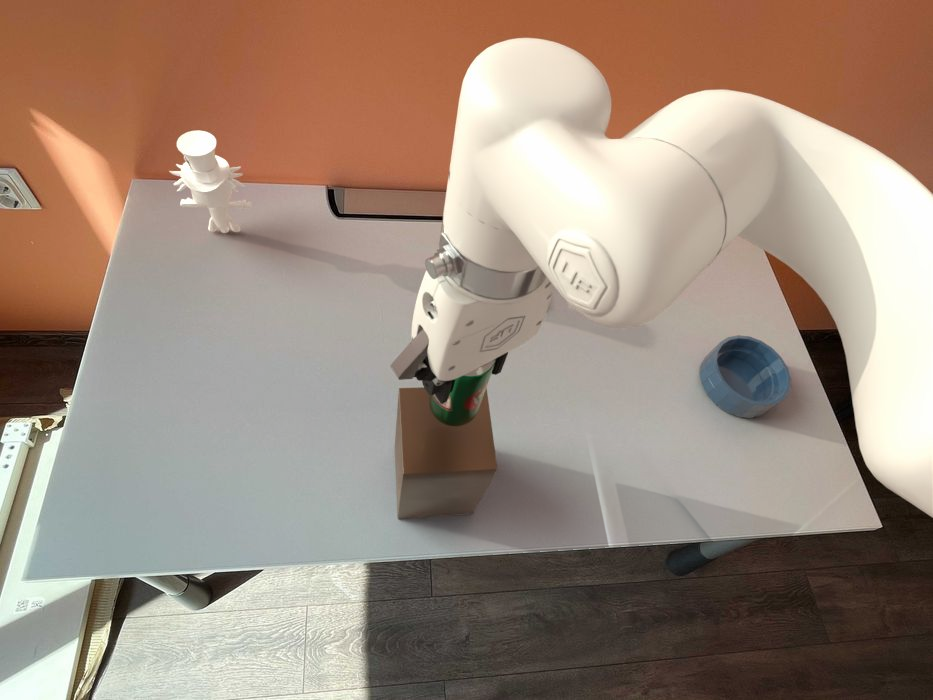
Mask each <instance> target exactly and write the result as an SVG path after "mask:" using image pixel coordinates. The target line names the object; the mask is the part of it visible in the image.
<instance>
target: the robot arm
mask: <svg viewBox="0 0 933 700" xmlns="http://www.w3.org/2000/svg"><path fill="white" fill-rule="evenodd" d="M457 105H458V106H457V113H456V120H455V126H454V127H455V128H454V135H453V142H452V148H451V156H450V163H449V170H448V178H447V185H446V192H445V200H444V206H443V215H442V222H441V227H440V234H439V241H438V248H437V249H436V252H434V254H433V256H430V257H428V258H426V259H425V261H424V266H425V273H424V275H423V278H422V280H421V283H420V286H419V289H418V293H417V297H416V300H415V305H414V309H413V315H412V322H411V341H410V342H409V343H408V344H407V346H406V347H405V348H404V349H403V350H402V351H401V353H400V354H399V355H398V356H397V357H396V358H395V359H394V360H393V362H392V363H391V364H390V369H391V370H392V372H393V373H394V376H395V377H396V378H397V379H398V380H399V381H404V380H413V379H414V378H416V380H417V381H421V383H422V386H423V387H424V388H425V390H426V391H427V392H428V394H429V395H430V396H432V395H434V394H435V396H436V397H437V399H438V400H439V402H440V403H441V404H443V403H445V402H447V400H448V398H449V394H450V390H451V386H452V380H454V379H456V378H459V377H461V376H463V375H465V374H467V373H469V372H471V371H473V370H475V369H477V368H479V367H481V366H482V365H484V364H486V363H488V362H490V361H492V360H494V359H496V358H497V359H496V362H495V365H494V368H493V371H492V374H491V375H494V376H496V375H499V374H501V372H502V370H503V367H504V365H505V362H506V360H507V357H508V354H509V352H510V351H513V350H514V349H516V348H518V347H520V346H521V345H523V344H525V343H526V342H528V341H529V340H531V339H533V337H535V336H536V335H537V334H538V332H539V331H540V328H541V326H542V325H543V322H544V320H545V318H546V314H547V312H548V309H549V306H550V303H551V300H552V297H553V293H554V291H555V289H556V290H557V292H558V293H559V294H560V296H562V298H563V299H564V300H565V301H566V302H567V303H569V305H570V306H572V307H573V308H574V309H575V310H576V311H578V312H579V313H580V314H581V315H582V316H584V317H586V318H587V319H589V320H591V321H592V322H594V323H596V324H598V325H602V326H604V327H607V328H610V329H611V328H612V329H631V328H636V327H639V326H641V325H644V324H646V323H648V322H650V321H652V320H654V319H655V318H656V317H658V316H659V315H660V314H661V313H663V312H664V311H666V309H668V308H669V307H670V306H671V305H672V303H674V302H675V301H676V299H678V297H680V296H681V294H682V293H684V292H685V290H687V288H688V287H689V286H690V285H691V284H692V283H693V282H694V281H695V280H696V279H697V278H698V277H699V276H700V275H701V274H702V273H703V272H704V270H705V269H707V267H709V266H710V265H711V264H712V263H713V262H714V261H715V260H716V259H717V258H718V257H719V256H720V254H721V253H723V251H725V250H726V248H727V247H729V245H730V244H731V243H733V241H734V240H735V239H736V238H737V237H740V238H741V239H743V240H745V241H746V242H749V244H752V245H754V246H756V247H757V248H760V250H762V251H765V252H766V253H768V254H769V255H771V256H772V257H775V258H776V259H777V260H779V261H780V262H781V263H783V264H784V265H787V267H789V268H790V269H791V270H793V271H794V272H795V273H796V274H797V275H798V276H800V277H801V278H802V279H803V280H804V281H805V282H806V283H807V284H808V285H809V286H810V288H812V289H813V291H815V293H816V294H817V295H818V297H819V298H820V300H821V302H822V303H823V304H824V305H825V306H826V308H827V310H828V312H829V315H830V316H831V317H832V319H833V321H834V323H835V326H836V328H837V331H838V334H839V337H840V339H841V342H842V343H841V344H842V347H843V351H844V355H845V361H846V366H847V373H848V380H849V387H850V393H851V401H852V408H853V414H854V422H855V429H856V434H857V439H858V440H857V441H858V446H859V451H860V453H861V456H862V458H863V462H864V463H865V466H866V467H867V469H868V470H869V471H870V473H871V474H872V476H873V477H874V478H875V479H876V480H877V481H878V482H879V483H881V484H882V485H883V486H884V487H885V488H886V489H888V490H890V491H891V492H893V493H894V494H895V495H897V496H899V497H901V498H902V499H904V500H905V501H907V502H908V503H910V504H911V505H913V506H914V507H916V508H917V509H918V510H920V511H922V512H923V513H925V514H927V515H928V516H929V517H931V518H932V519H933V192H932V191H931V190H929V189H928V188H927V186H925V185H924V184H923V183H922V182H921V181H920V180H919V179H918V178H916V176H914V175H913V174H912V173H911V172H909V171H908V170H907V169H906V168H905V167H903V166H902V165H901V164H899V163H898V162H896V161H895V160H894V159H892V158H891V157H889V156H888V155H886V154H885V153H883V152H881V151H880V150H878V149H876V148H875V147H873V146H871V145H869V144H868V143H866V142H864V141H862V140H860V139H858V138H856V137H855V136H852V135H850V134H849V133H846V132H844V131H841V130H839V129H837V128H836V127H833V126H831V125H829V124H826V123H825V122H823V121H820V120H818V119H816V118H813V117H811V116H809V115H807V114H805V113H803V112H801V111H798V110H796V109H794V108H791V107H789V106H787V105H784V104H781V103H779V102H776V101H774V100H772V99H769V98H766V97H762V96H761V95H756V94H753V93H749V92H743V91H737V90H732V89H704V90H700V91H696V92H692V93H689V94H686V95H684V96H681V97H679V98H677V99H675V100H674V101H672V102H670V103H669V104H666V105H665V106H664V107H663V108H661V109H659V110H658V111H656V112H654V113H653V114H652V115H651V116H649V117H648V118H646V119H645V120H644V121H642V122H641V123H640V124H639V125H637V126H635V127H634V128H633V129H632V130H630V131H629V132H627V133H626V134H625V135H624V136H622V137H621V138H609V137H608V136H607V135H606V133H607V130H608V126H609V123H610V121H611V113H612V96H611V91H610V87H609V85H608V83H607V80H606V79H605V76H604V75H603V74H602V72H601V70H599V69H598V68H597V66H596V65H595V64H594V63H593V62H592V61H591V60H590V59H589V58H587V57H586V56H585V55H583V54H581V53H580V52H578V51H577V50H576V49H573V48H571V47H569V46H567V45H564V44H561V43H559V42H556V41H552V40H548V39H543V38H536V37H535V38H534V37H517V38H511V39H506V40H504V41H500V42H497V43H494V44H492V45H490V46H488V47H487V48H486V49H484V50H483V51H481V52H480V53H479V54H478V55H477V56H476V57H475V58H474V59H473V61H472V62H471V64H470V65H469V67H468V68H467V70H466V73H465V75H464V77H463V80H462V83H461V88H460V93H459V98H458V104H457Z"/></svg>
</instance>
